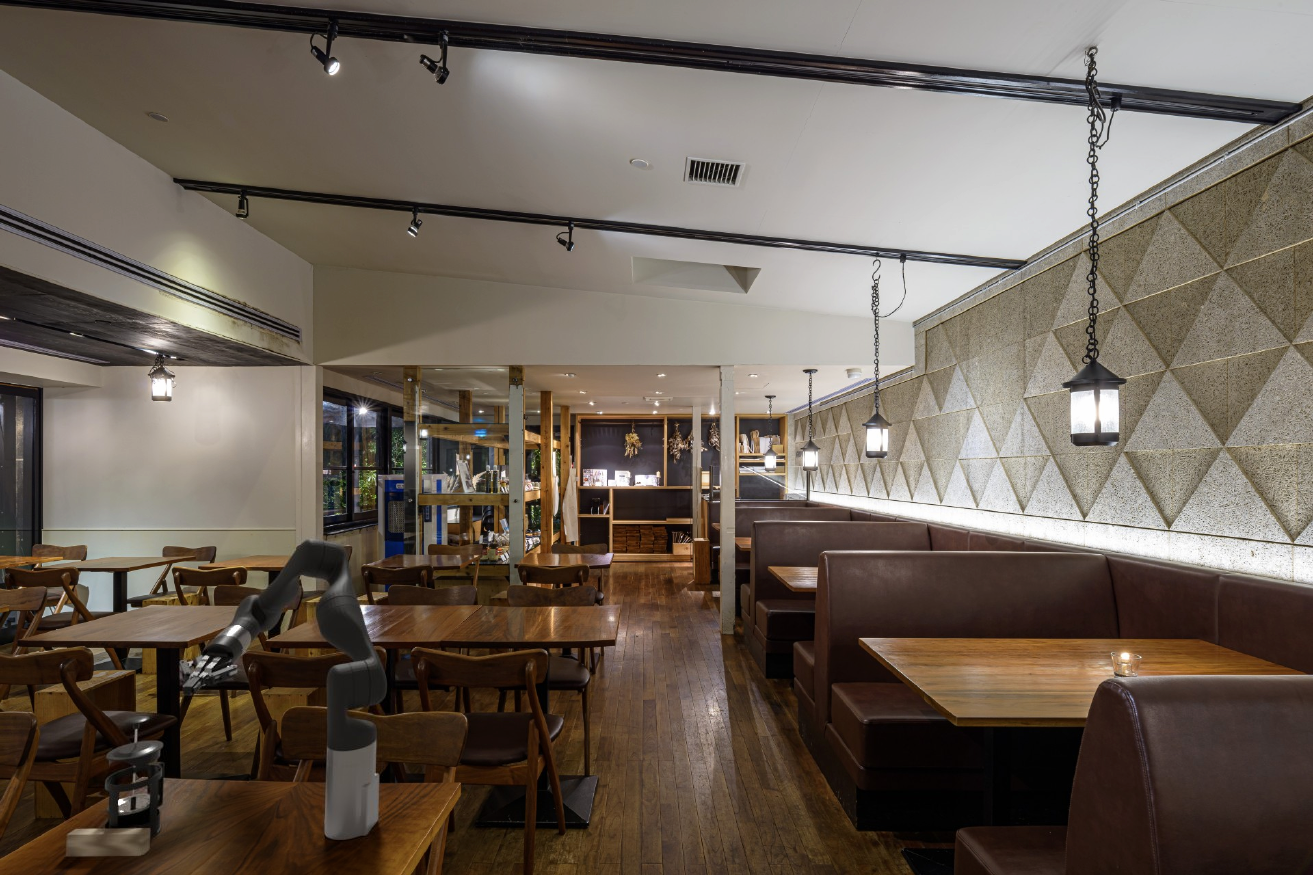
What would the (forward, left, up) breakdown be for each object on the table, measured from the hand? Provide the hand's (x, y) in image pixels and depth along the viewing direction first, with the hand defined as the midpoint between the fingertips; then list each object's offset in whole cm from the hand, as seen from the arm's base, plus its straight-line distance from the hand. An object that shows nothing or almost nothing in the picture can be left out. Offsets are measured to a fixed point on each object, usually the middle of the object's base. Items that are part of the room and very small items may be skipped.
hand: (187, 691), depth 146 cm
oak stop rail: (+1, +19, -24) cm, 31 cm away
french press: (+1, +13, -24) cm, 27 cm away
